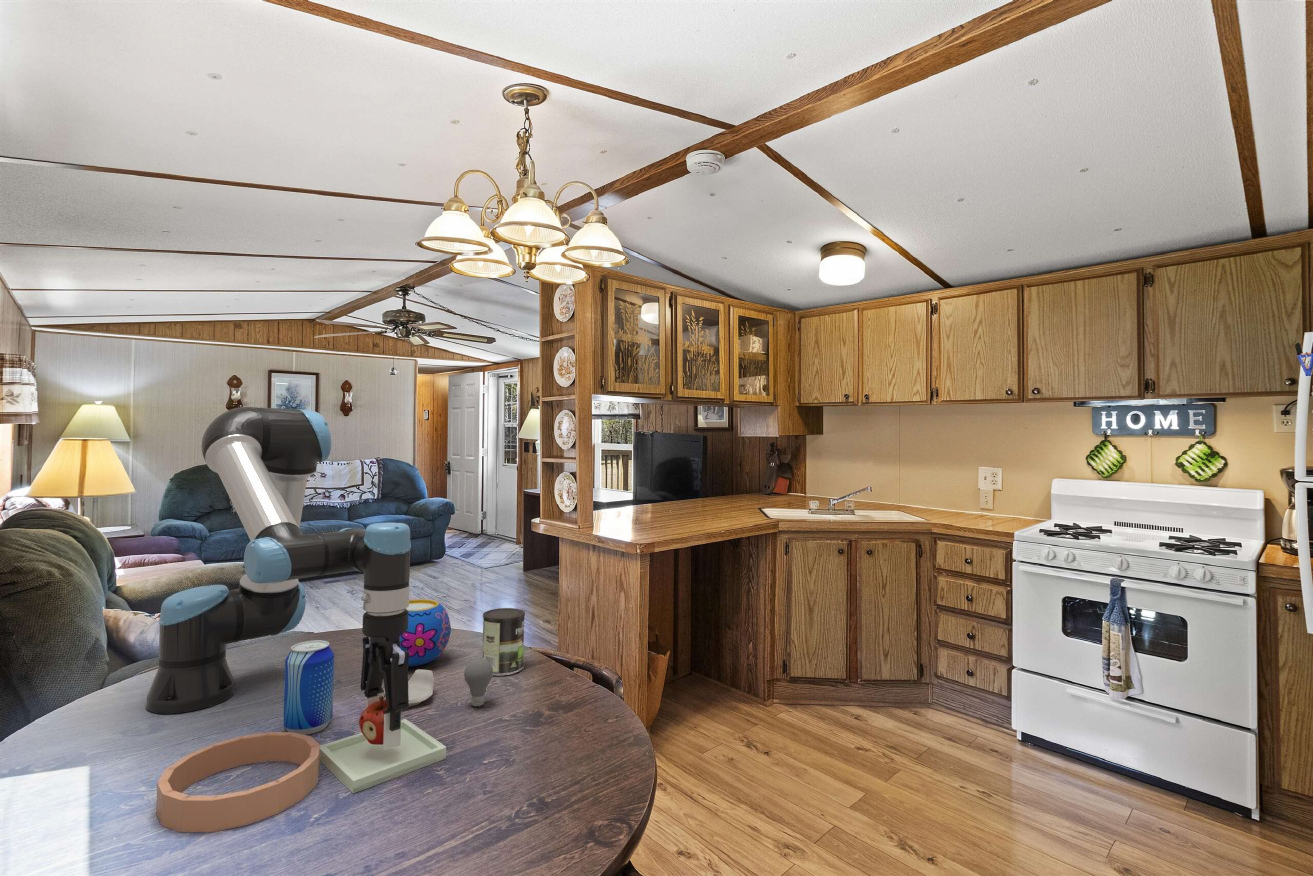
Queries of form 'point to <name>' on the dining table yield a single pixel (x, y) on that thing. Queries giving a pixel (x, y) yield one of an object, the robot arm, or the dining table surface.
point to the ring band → (240, 805)
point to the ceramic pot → (425, 631)
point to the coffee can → (503, 639)
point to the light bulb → (478, 679)
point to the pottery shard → (419, 686)
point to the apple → (373, 722)
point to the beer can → (308, 687)
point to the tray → (380, 757)
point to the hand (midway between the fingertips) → (382, 739)
